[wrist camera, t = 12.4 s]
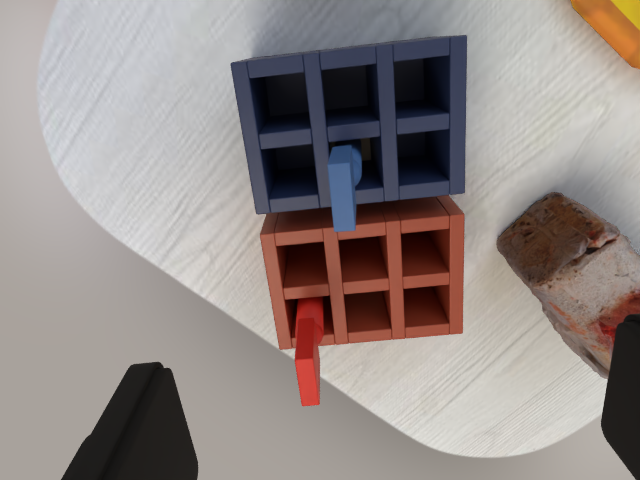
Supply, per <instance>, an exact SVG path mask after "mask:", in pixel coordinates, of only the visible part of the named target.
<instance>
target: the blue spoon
mask: <svg viewBox="0 0 640 480" xmlns="http://www.w3.org/2000/svg"><path fill="white" fill-rule="evenodd" d="M327 168H328V178H329V188H330V197H331V207H332V217H333V226H334V232H342V231H355V230H356V193H355V186H356V185H357V184H358V183H359V181H360V179H361V175H362V147H361V140H360V139H353V140H344V141H336V144H335V147H332V151H331V154H330V157H329V161H328V164H327Z"/></svg>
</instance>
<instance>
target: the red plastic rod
mask: <svg viewBox="0 0 640 480" xmlns="http://www.w3.org/2000/svg"><path fill="white" fill-rule="evenodd" d="M323 335H324V330H323V296H320V297H309V298H298V306H297V317H296V329H295V337H296V350H295V365H296V372H297V378H298V384H299V390H300V397H301V403H302V406H310V405H319V404H320V358H319V350H318V345H319V344H320V343H321V341H322V339H323Z"/></svg>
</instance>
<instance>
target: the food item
mask: <svg viewBox="0 0 640 480" xmlns="http://www.w3.org/2000/svg"><path fill="white" fill-rule="evenodd" d="M630 243H631V241H630V240H629V239H628V237H626V236H624V235H622V234H621V233H620V231H619V230H618V228H617V227H616V226H614V225H612V224H610V223H608V222H606V220H604V219H602V218H600V217H599V216H598V215H597V214H595V213H594V212H592V211H591V210H589V209H588V208H587V207H585V206H584V205H581V204H579V203H578V202H576V201H574V200H572V199H570V198H567V197H565V196H563V195H562V193H555V192H551V193H550V194H548V195H547V196H545V197H544V198H543V199H542V200H540V201H537V202H536V203H534V204H533V205H532V206H531V207H530V208H529V209H528V211H527V212H526V213H525V214H524V215H523V216H522V217H520V218H519V219H518V220H517V221H516V222H515V223H514V224H513V225H511V226H510V227H509V228H508V229H507V230H506V231H505V232H504V233H503V234H502V235H501V236H500V237H499V239H498V240H497V248H498V250H499V252H500V254H502V255H503V256H504V257H505V259H506V260H507V263H508V264H509V265H510V267H511V268H512V269H513V271H514V272H515V273H516V275H517V276H519V277H520V278H521V279H522V281H523V282H524V283H525V284H526V285H527V286H528V287H529V288H530V290H531V292H532V294H534V295H535V296H536V297H537V298H538V299H539V300H540V302H541V303H542V309H543V312H544V313H545V315H546V316H547V317H548V319H549V321H550V322H551V324H552V325H553V327H554V329H555V330H556V331H557V332H558V333H559V334H560V335H561V337H562V339H563V341H564V342H565V343H566V344H567V345H568V346H569V347H570V348H571V349H572V351H574V352H575V353H576V354H577V355H578V356H580V357H581V359H582V360H583V361H584V362H585V363H586V364H588V365H589V366H590V367H591V368H592V369H593V371H595V372H597V373H598V374H599V375H600V376H601V377H603V378H605V379H608V376H609V370H610V364H611V358H612V352H613V345H614V339H615V333H616V328H617V325H618V324H619V323H621V322H623V321H624V319H625V317H626V316H627V315H630V314H638V313H640V256H639V255H638V254H637V253H636V252H634V250H633V249H632V247H631V246H630Z"/></svg>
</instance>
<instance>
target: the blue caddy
mask: <svg viewBox="0 0 640 480" xmlns="http://www.w3.org/2000/svg"><path fill="white" fill-rule="evenodd" d="M466 69H467V35H459V36H440V37H427V38H419V39H410V40H402V41H393V42H385V43H376V44H368V45H359V46H351V47H342V48H334V49H325V50H316V51H308V52H299V53H291V54H282V55H274V56H265V57H257V58H250V59H245V60H241V61H236V62H232V63H231V70H232V76H233V82H234V88H235V93H236V99H237V105H238V111H239V117H240V122H241V128H242V134H243V140H244V146H245V151H246V157H247V163H248V169H249V175H250V180H251V186H252V192H253V198H254V204H255V209H256V214H266V213H277V212H287V211H296V210H306V209H316V208H324V207H331V197H330V188H329V178H328V168H327V164H328V161H329V157H330V154H331V151H332V147H335V144H336V141H344V140H353V139H360V140H361V147H362V175H361V179H360V181H359V183H358V184H357V185H356V186H355V193H356V204H365V203H375V202H384V201H394V200H399V199H400V200H404V199H414V198H424V197H433V196H443V195H449V194H450V195H452V194H462V193H465V136H466Z"/></svg>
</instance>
